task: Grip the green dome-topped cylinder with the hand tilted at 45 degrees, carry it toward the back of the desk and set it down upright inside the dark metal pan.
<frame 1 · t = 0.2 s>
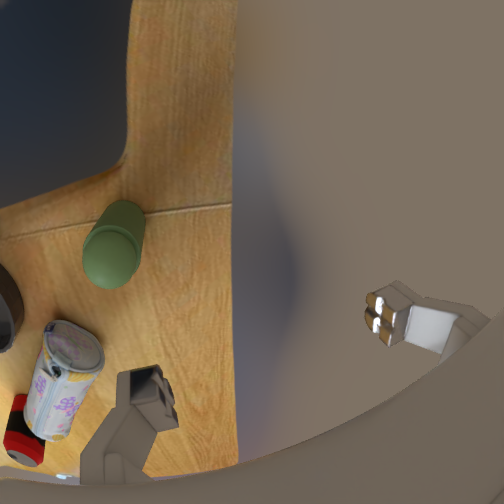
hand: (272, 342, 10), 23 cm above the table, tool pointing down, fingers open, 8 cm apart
green dome-topped cylinder: (123, 222, 29), on the table
soda can: (32, 405, 33), on the table
pencil case: (63, 365, 33), on the table
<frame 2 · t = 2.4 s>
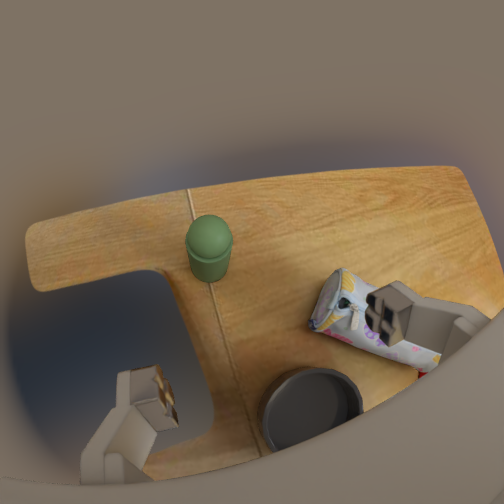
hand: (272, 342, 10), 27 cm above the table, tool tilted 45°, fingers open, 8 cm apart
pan: (306, 413, 33), on the table
green dome-topped cylinder: (209, 264, 38), on the table
pencil case: (368, 328, 39), on the table
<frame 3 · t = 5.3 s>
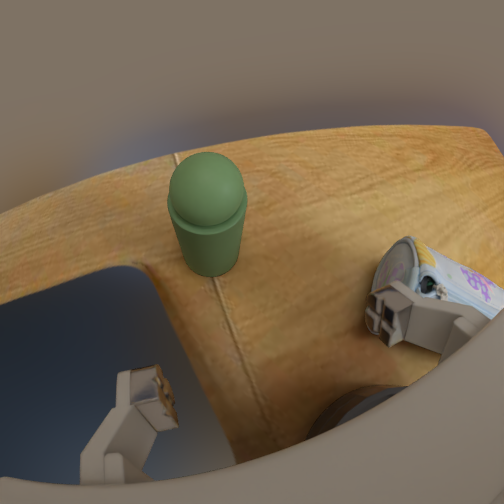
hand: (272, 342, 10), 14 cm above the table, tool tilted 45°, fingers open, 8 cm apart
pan: (367, 448, 20), on the table
green dome-topped cylinder: (210, 250, 26), on the table
pencil case: (435, 321, 26), on the table
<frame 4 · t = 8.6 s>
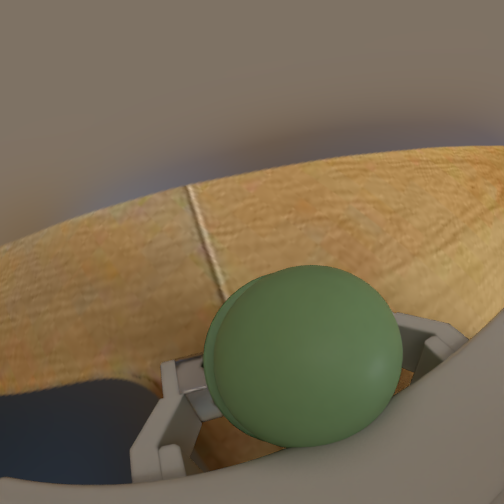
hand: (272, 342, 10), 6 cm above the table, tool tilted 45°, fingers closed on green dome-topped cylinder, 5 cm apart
green dome-topped cylinder: (257, 358, 16), on the table, touching gripper
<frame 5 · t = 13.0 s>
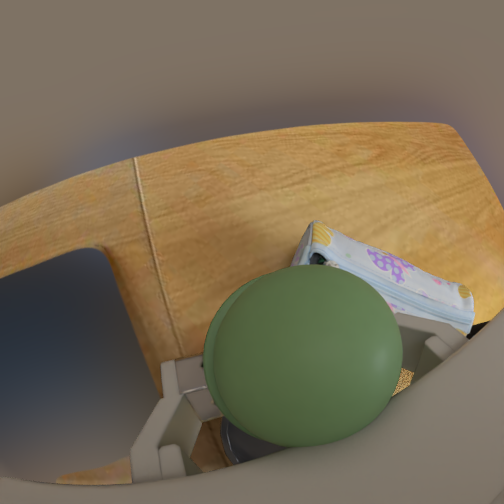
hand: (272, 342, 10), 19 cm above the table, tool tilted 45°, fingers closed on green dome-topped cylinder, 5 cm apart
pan: (286, 419, 25), on the table
green dome-topped cylinder: (257, 358, 16), point 12 cm above the table, touching gripper
pencil case: (363, 304, 31), on the table
when the fingers open (7 cm above the table, at t = 17.7 s): green dome-topped cylinder stays where it is, resting on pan.
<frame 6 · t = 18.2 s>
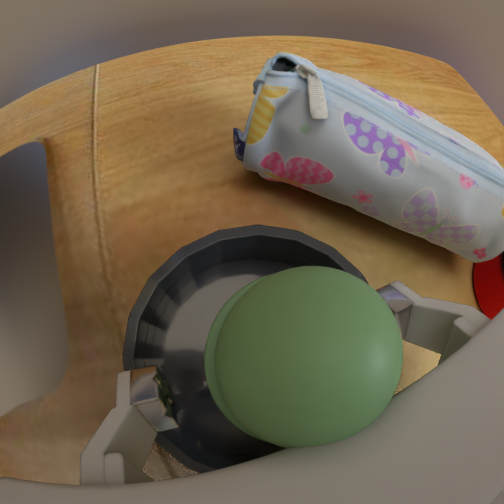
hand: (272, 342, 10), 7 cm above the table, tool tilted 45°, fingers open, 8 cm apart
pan: (255, 358, 16), on the table
green dome-topped cylinder: (257, 358, 16), resting on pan
soda can: (492, 287, 20), on the table
pencil case: (367, 193, 21), on the table
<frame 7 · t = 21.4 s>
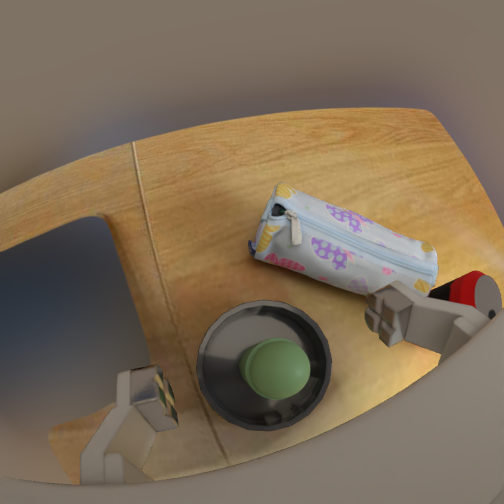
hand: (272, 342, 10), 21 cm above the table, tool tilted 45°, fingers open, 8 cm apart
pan: (261, 365, 29), on the table
green dome-topped cylinder: (262, 365, 29), resting on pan
soda can: (426, 320, 33), on the table
pencil case: (333, 263, 35), on the table
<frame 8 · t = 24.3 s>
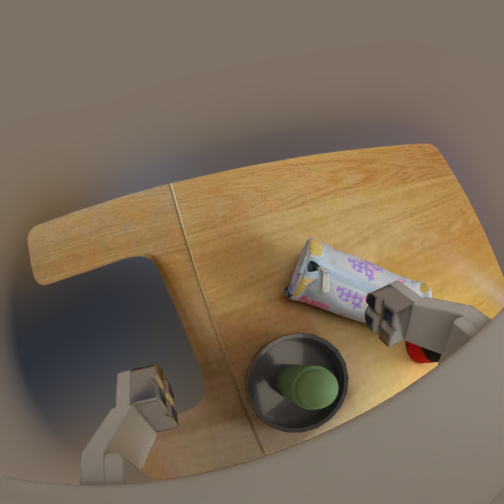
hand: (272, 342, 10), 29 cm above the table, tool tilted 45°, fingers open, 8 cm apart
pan: (292, 381, 36), on the table
green dome-topped cylinder: (294, 382, 36), resting on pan
soda can: (421, 341, 40), on the table
pencil case: (348, 297, 42), on the table
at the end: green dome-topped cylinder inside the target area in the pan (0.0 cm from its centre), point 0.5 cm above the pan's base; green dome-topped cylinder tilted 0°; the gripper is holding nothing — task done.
